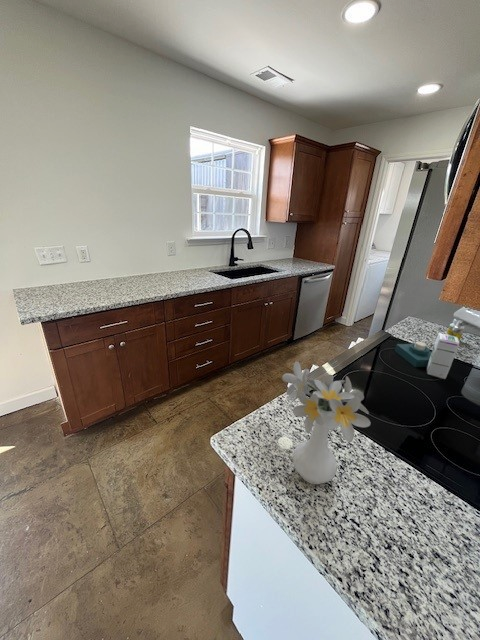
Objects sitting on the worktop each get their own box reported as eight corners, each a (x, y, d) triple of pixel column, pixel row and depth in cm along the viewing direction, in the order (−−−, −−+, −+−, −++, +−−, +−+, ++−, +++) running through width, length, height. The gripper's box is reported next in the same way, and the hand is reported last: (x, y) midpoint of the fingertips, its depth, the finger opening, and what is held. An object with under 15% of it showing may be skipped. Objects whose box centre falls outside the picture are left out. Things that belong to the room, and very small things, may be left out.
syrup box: (445, 379, 92) (461, 343, 86) (426, 374, 95) (439, 338, 89) (444, 371, 97) (459, 336, 91) (425, 366, 100) (438, 332, 94)
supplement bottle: (461, 341, 120) (470, 322, 116) (454, 343, 118) (462, 323, 114) (449, 336, 124) (456, 317, 120) (442, 337, 122) (449, 318, 118)
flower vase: (295, 430, 69) (308, 347, 59) (362, 484, 57) (393, 390, 46) (259, 457, 62) (267, 367, 52) (327, 526, 49) (355, 425, 39)
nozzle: (427, 350, 102) (428, 345, 101) (418, 350, 101) (420, 346, 100) (420, 345, 105) (421, 341, 104) (411, 346, 104) (413, 341, 104)
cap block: (439, 366, 100) (443, 355, 98) (415, 367, 99) (419, 355, 97) (416, 350, 111) (420, 339, 109) (394, 350, 110) (397, 340, 108)
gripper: (470, 294, 96) (437, 320, 99) (533, 316, 78) (490, 346, 81) (477, 306, 99) (445, 330, 101) (540, 329, 80) (498, 358, 83)
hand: (465, 337), depth 91 cm, fingers open, 8 cm apart
